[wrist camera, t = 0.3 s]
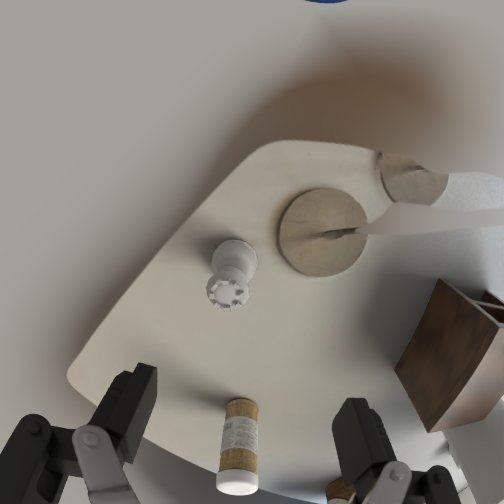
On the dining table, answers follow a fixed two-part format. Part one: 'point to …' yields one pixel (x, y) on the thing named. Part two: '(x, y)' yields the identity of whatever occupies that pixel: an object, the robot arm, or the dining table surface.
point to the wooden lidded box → (455, 359)
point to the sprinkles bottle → (239, 449)
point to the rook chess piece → (231, 274)
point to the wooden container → (338, 493)
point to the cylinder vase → (481, 454)
